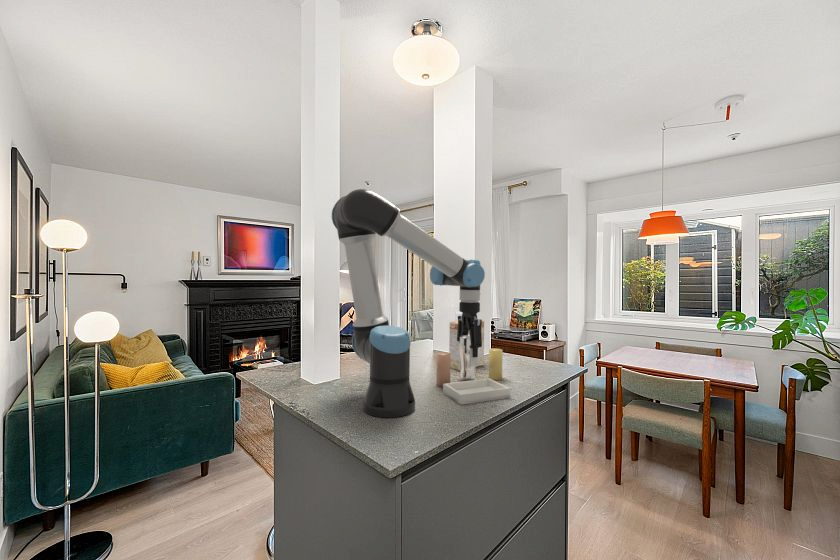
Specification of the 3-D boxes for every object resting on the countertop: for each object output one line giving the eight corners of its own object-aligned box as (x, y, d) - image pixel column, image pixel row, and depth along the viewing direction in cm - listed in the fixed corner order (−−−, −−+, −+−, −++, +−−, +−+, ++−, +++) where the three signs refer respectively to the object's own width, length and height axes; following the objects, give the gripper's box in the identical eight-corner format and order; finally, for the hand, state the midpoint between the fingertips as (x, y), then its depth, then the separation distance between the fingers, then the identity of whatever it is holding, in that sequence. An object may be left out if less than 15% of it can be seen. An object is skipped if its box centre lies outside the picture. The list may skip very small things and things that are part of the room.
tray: (460, 404, 113) (460, 394, 113) (443, 392, 124) (443, 383, 124) (509, 397, 119) (510, 388, 119) (489, 386, 131) (489, 378, 131)
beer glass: (471, 380, 133) (472, 338, 132) (455, 377, 137) (456, 336, 137) (480, 376, 138) (481, 336, 138) (464, 373, 142) (465, 334, 142)
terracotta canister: (440, 387, 129) (440, 355, 129) (434, 383, 134) (434, 353, 134) (452, 385, 131) (453, 354, 131) (446, 382, 136) (446, 352, 136)
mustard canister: (493, 381, 138) (493, 351, 138) (486, 377, 142) (486, 348, 142) (504, 379, 140) (505, 350, 139) (497, 376, 144) (497, 347, 144)
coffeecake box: (472, 362, 167) (472, 318, 166) (484, 365, 161) (485, 320, 161) (448, 367, 157) (448, 321, 157) (460, 370, 152) (461, 323, 151)
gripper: (493, 303, 130) (491, 369, 130) (465, 299, 148) (464, 357, 148) (474, 303, 127) (473, 370, 127) (448, 299, 145) (447, 358, 145)
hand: (468, 363), depth 137 cm, fingers closed on beer glass, 7 cm apart
